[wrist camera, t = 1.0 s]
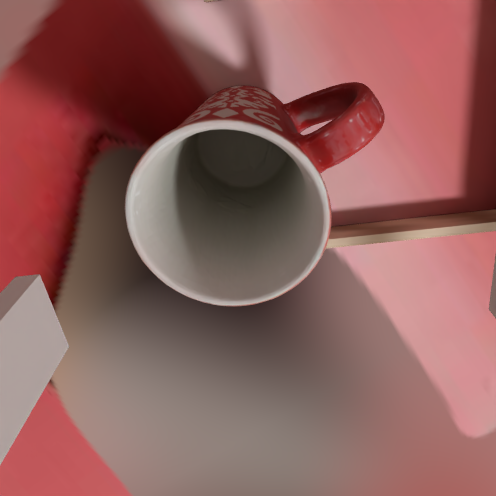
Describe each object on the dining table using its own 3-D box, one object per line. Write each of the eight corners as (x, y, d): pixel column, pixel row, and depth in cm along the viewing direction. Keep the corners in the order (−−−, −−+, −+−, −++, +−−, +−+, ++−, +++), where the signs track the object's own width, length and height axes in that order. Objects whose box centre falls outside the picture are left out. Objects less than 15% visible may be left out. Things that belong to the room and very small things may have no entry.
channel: (246, 244, 36) (244, 266, 33) (206, -11, 28) (198, -13, 25) (530, 214, 34) (557, 235, 30) (576, -71, 26) (618, -81, 22)
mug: (223, 222, 35) (200, 335, 23) (151, 118, 31) (80, 189, 20) (378, 137, 31) (445, 218, 20) (316, 9, 28) (352, 14, 16)
